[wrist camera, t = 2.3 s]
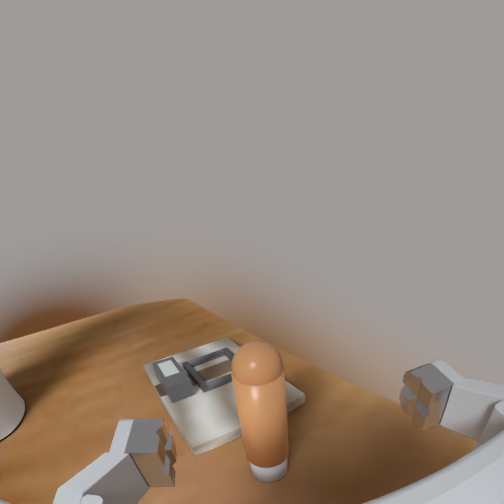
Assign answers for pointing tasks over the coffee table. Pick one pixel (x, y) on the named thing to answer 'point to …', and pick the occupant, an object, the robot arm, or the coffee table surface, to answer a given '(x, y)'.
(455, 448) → the coffee table surface
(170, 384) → the block
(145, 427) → the robot arm
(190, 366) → the metal mounting plate
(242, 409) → the tan rounded rod
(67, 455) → the coffee table surface
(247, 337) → the coffee table surface
